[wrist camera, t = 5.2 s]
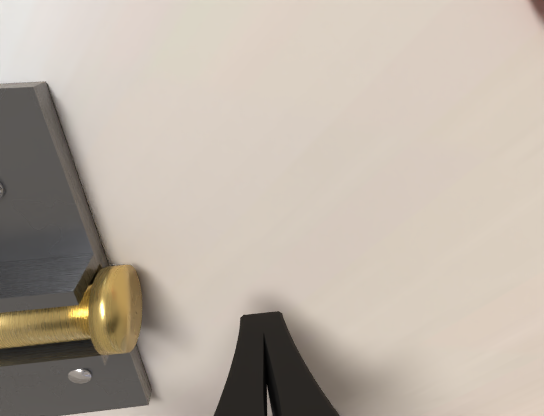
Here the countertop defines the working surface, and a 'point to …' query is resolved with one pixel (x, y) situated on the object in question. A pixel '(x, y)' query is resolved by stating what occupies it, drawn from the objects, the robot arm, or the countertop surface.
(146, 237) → the countertop surface
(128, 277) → the pin
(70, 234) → the hinge
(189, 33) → the countertop surface
